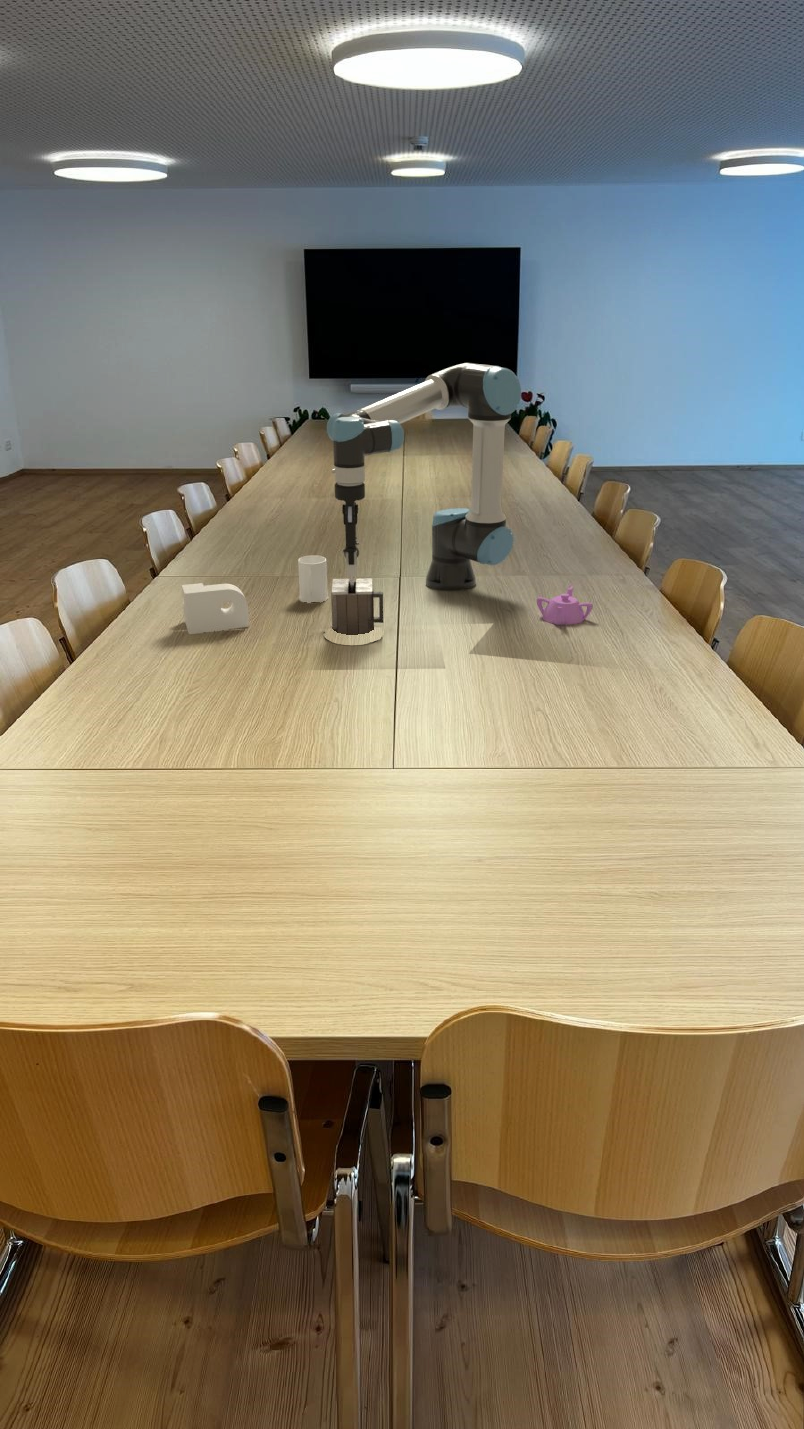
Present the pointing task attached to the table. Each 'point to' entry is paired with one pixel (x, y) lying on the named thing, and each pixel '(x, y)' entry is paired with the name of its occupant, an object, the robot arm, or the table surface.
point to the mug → (312, 579)
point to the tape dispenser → (213, 608)
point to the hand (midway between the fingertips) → (351, 572)
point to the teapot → (563, 609)
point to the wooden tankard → (354, 606)
